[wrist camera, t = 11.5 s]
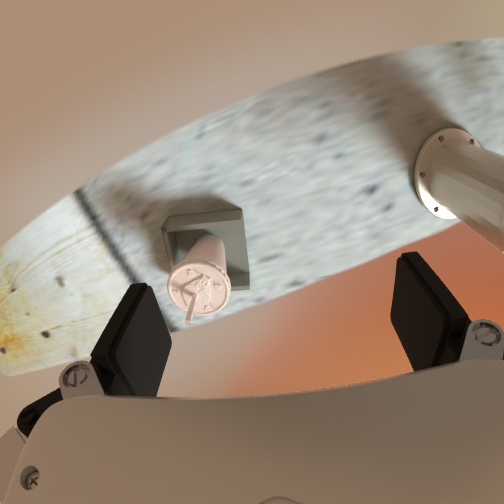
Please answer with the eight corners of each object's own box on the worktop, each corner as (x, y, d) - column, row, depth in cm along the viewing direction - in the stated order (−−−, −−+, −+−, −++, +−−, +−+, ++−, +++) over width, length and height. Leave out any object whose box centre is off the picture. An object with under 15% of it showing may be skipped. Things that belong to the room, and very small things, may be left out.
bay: (242, 208, 37) (241, 219, 34) (249, 274, 41) (249, 289, 38) (168, 217, 37) (161, 228, 34) (182, 280, 42) (177, 294, 39)
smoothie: (177, 255, 39) (145, 325, 27) (198, 214, 37) (171, 274, 24) (220, 278, 41) (207, 354, 28) (245, 239, 38) (240, 309, 26)
